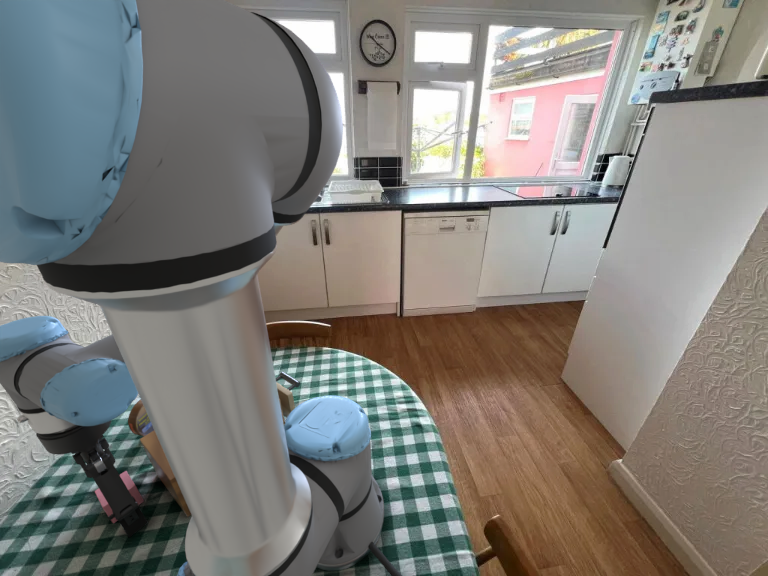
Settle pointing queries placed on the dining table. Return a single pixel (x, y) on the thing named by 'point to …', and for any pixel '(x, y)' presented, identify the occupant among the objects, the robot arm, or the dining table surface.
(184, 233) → the robot arm
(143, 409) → the tin
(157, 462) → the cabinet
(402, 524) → the dining table surface
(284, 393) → the drawer
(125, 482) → the block
